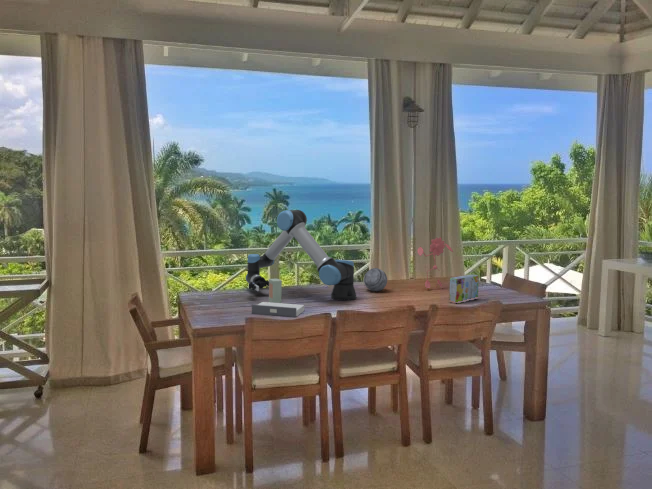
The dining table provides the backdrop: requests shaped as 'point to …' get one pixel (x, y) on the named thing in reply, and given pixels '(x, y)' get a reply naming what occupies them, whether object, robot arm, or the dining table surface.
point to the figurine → (437, 249)
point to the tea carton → (275, 290)
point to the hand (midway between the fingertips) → (269, 288)
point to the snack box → (463, 287)
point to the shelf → (277, 309)
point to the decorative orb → (375, 279)
